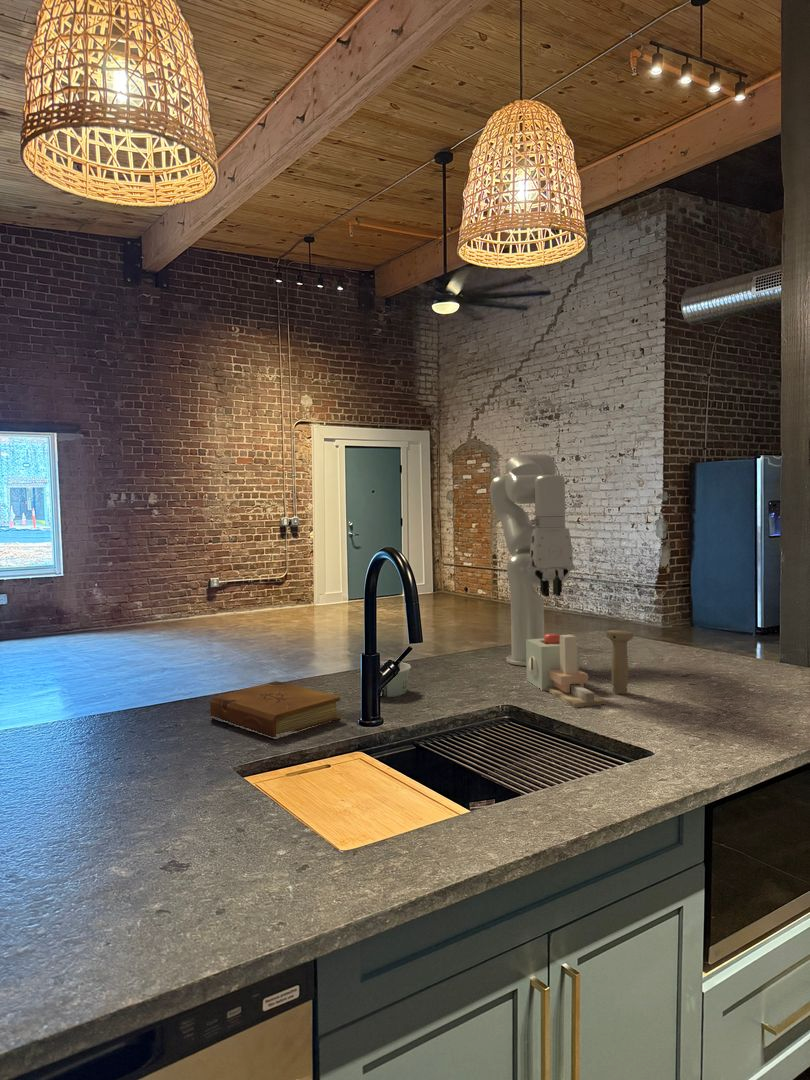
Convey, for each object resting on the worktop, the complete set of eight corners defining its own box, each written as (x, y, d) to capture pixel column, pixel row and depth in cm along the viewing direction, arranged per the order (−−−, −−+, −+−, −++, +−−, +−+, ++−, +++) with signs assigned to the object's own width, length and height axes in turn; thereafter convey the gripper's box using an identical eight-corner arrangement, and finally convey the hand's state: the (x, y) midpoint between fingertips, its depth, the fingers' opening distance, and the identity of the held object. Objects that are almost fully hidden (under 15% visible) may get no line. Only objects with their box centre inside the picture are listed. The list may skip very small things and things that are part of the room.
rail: (546, 690, 187) (546, 678, 187) (576, 688, 189) (576, 676, 189) (574, 707, 172) (574, 694, 172) (606, 704, 174) (605, 691, 174)
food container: (411, 698, 184) (410, 671, 183) (362, 699, 184) (361, 672, 183) (411, 685, 196) (411, 660, 195) (366, 686, 196) (365, 661, 195)
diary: (210, 722, 170) (209, 697, 169) (277, 704, 183) (276, 680, 183) (273, 742, 154) (272, 715, 154) (340, 721, 168) (339, 695, 167)
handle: (626, 697, 179) (626, 635, 178) (603, 692, 184) (602, 632, 183) (637, 693, 183) (636, 632, 182) (613, 688, 187) (613, 629, 186)
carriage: (549, 686, 186) (548, 634, 186) (575, 683, 188) (574, 632, 187) (561, 693, 180) (560, 639, 179) (588, 690, 181) (587, 637, 180)
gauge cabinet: (524, 681, 197) (523, 639, 196) (561, 678, 199) (561, 637, 199) (539, 690, 187) (538, 647, 186) (578, 687, 190) (578, 644, 189)
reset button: (541, 645, 194) (541, 634, 194) (555, 644, 195) (555, 633, 195) (547, 648, 190) (547, 636, 190) (562, 647, 191) (562, 635, 191)
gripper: (526, 525, 185) (527, 599, 186) (586, 523, 189) (586, 595, 190) (514, 524, 193) (516, 595, 194) (573, 522, 196) (573, 592, 197)
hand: (551, 594), depth 192 cm, fingers open, 2 cm apart
